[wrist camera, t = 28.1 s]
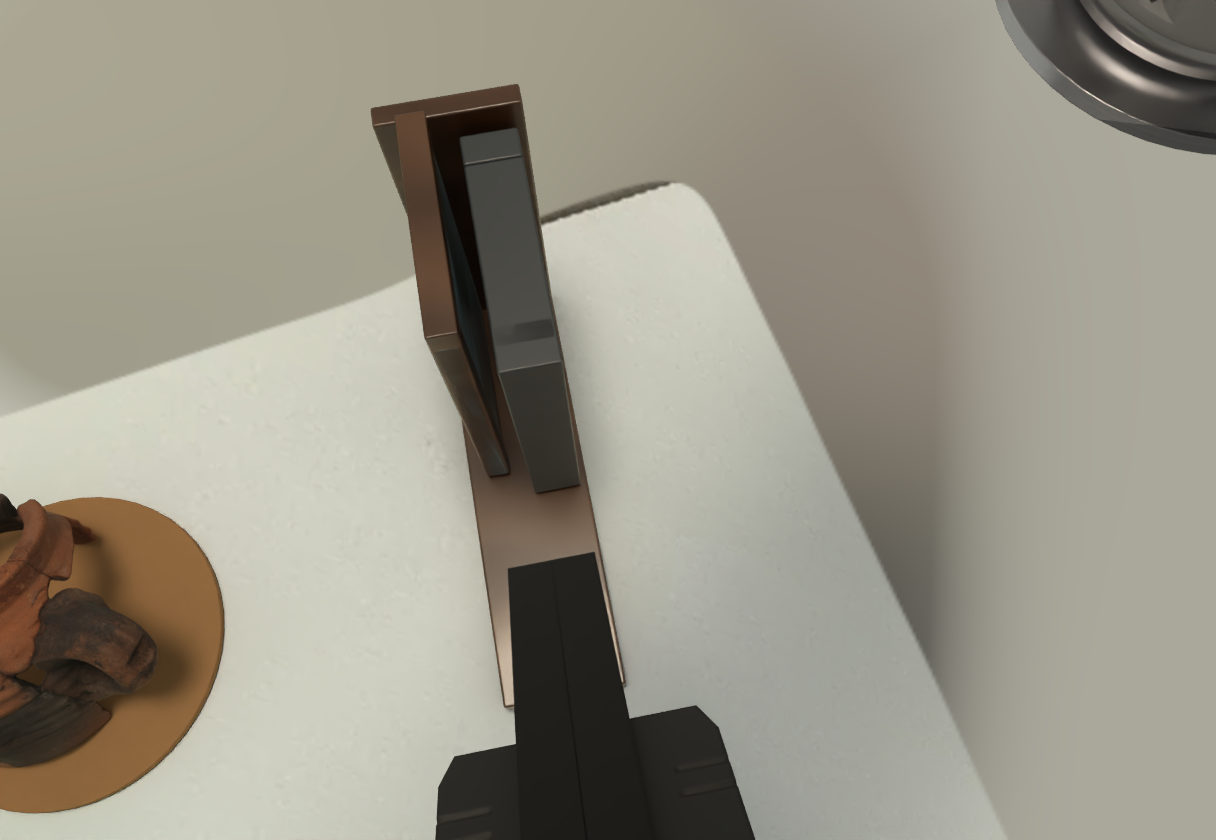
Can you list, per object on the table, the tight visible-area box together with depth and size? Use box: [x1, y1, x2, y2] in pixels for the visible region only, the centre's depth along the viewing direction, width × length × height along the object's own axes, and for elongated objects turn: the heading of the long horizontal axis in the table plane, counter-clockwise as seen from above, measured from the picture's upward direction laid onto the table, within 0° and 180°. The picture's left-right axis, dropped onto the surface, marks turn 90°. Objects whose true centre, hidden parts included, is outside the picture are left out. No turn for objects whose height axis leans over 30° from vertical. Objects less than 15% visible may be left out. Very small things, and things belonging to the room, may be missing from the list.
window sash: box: [459, 128, 581, 493], centre depth 36 cm, size 9×2×13 cm, turn 11°
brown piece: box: [371, 84, 626, 710], centre depth 35 cm, size 19×5×15 cm, turn 11°
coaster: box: [0, 497, 224, 813], centre depth 40 cm, size 13×13×1 cm
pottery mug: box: [0, 494, 158, 768], centre depth 37 cm, size 12×10×8 cm
